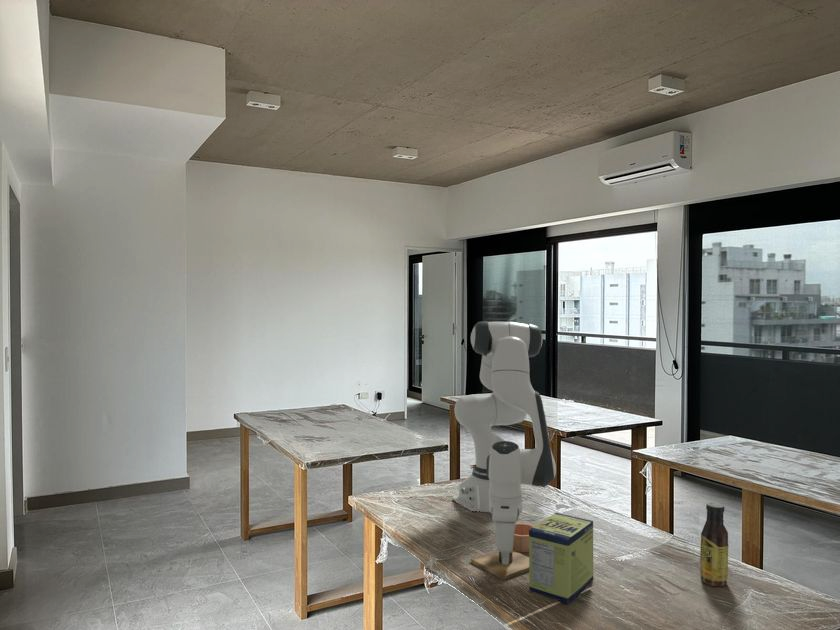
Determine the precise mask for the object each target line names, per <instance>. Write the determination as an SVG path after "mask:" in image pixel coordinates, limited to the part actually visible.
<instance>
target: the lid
mask: <svg viewBox="0 0 840 630" xmlns="http://www.w3.org/2000/svg"><path fill="white" fill-rule="evenodd" d="M470 562H471V563H473V564H475V565H477V566H479V567H481V568H483V569H485V570H487V571H489V572H490V573H492V574H494V575H496V576H498V577H500V578H502V579H504V580H507V579H509V578H512V577H515V576H517V575H520V574H523V573H525V572H528V571H529V556H527V555H524V554H522V553H521V552H519V551H514V550H512V552H511V553H509V564H508V565H506V564H502V555H501V552H499V551H498V549H497V550H493V551H491V552H488V553H484V554H481V555H479V556H475V557H473V558H471V561H470ZM490 573H489V574H490ZM492 574H491V575H492Z"/></svg>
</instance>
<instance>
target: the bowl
mask: <svg viewBox="0 0 840 630" xmlns="http://www.w3.org/2000/svg"><path fill="white" fill-rule="evenodd" d="M534 526H535V525H533V524H530V523H525V522H516V525H515V533H514V542H513V550H514V551H516V552H518V553H526V552H527V553H529V530H530V529H531V528H532V527H534Z"/></svg>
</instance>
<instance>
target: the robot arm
mask: <svg viewBox="0 0 840 630" xmlns="http://www.w3.org/2000/svg"><path fill="white" fill-rule="evenodd" d="M543 342H544V341H543V335H542V330H541V329H540V327H539V326H538V325H536V324H532V323H522V322H516V321H488V320H483V321H477V322H476V324H474V326H473V328H472V331H471V333H470V344H471V346H472V350H473V351H474V352H475V353H476V354H478V355H481V364H480V371H479V381H480V383H481V384H482V385H483V386H484V387H485V388H486V389H488V390H490V391H492V392H491V393H476V394H473V393H472V394H469V395H464V396H460V397H459V398H458V399H457V400H456V402H455V404H454V412H453V413H454V416H455V417H454V418H456V421H457V422H458V423H459V424H460V425H461V426H463V427H464V428H465V429H466V431H468V433H469V434H470V436H471V438H472V441H473V445H474V453H475V455H474V456H475V464H472V465H470V469H471V470H472V472H471V475H469V476H468V477H467V478H465V479H464V480H463V481H461V482H460V484H459V487H458V488H459V489H458V493H457V494H454V495H453V496H452V498H451V500H452V499H454V500H455V501H457V502H459V503H460V504H462V505H463V506H465V507H466V508H468V509H469V510H468V509H467V510H468V511H470V510H471V511H470V512H472V511H477V512H476V513H478V512H479V511H480V512H479V513H490V515H491V520H492V522H494V530H495V540H496V548H497V550H498V551H499V552H501V555H502V564H506V565H508V564H509V553H511V552H512V550H513V542H514V533H515V525H516V523H518V520H519V518H520V517H519V516H520V515H521V514H522V512H523V490H522V485H527V486H528V485H531V486H532V487H533V486H534V487H540V488H546V487H547V486H548V485H551V483H552V482H554V480H555V477H556V473H557V468H556V467H557V466H556V461H555V458H554V455H553V452H552V448H551V444H550V443H551V442H550V441H551V440H550V437H549V430H548V425H547V418H546V413H545V410H544V404H543V399H542V397H541V394H540V393H539V392H538V391H536V390H535V389H534V388H533V385H532V383H531V378H530V360H529V359H530V358H533V357H536V356H537V355H538V354H540V352H541V348H542V345H543ZM527 416H528V417H529V419H530V420H531V424H532V429H533V436H534V441H535V447H534V448H532V449H531V448H520V446H519V445H518V444H517V443H516V442H513V441H509V440H505V439H504V438H502V437H501V436H500V435H497V434H495V433H493V432H492V427H493V426H508V425H509V426H510V425H515V424H518V423H522V422H524V420H525V419H526V418H527ZM455 501H454V502H455ZM457 502H456V503H457ZM460 504H459V505H460ZM462 505H461V506H462ZM463 506H462V507H463ZM465 507H464V508H465ZM466 508H465V509H466Z"/></svg>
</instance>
